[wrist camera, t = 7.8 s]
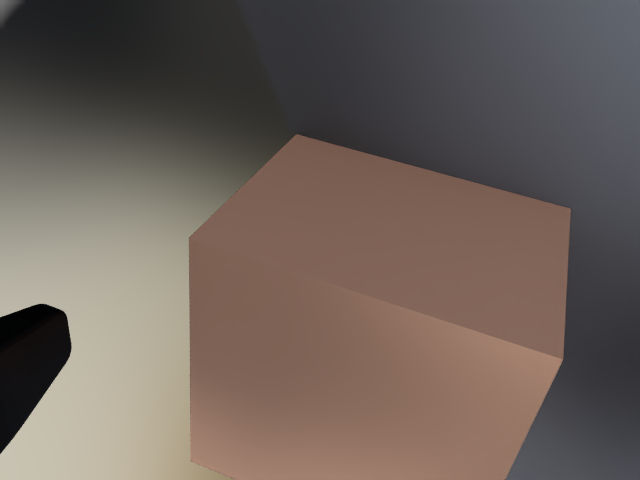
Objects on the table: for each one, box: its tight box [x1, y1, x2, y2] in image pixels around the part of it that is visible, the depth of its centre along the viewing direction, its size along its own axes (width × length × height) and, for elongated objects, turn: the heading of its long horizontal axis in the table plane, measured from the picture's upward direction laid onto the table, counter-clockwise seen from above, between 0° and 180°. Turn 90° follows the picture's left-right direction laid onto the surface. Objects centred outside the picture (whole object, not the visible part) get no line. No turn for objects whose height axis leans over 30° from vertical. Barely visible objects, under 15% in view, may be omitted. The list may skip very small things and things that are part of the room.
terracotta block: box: [189, 134, 571, 480], centre depth 11 cm, size 5×5×4 cm
